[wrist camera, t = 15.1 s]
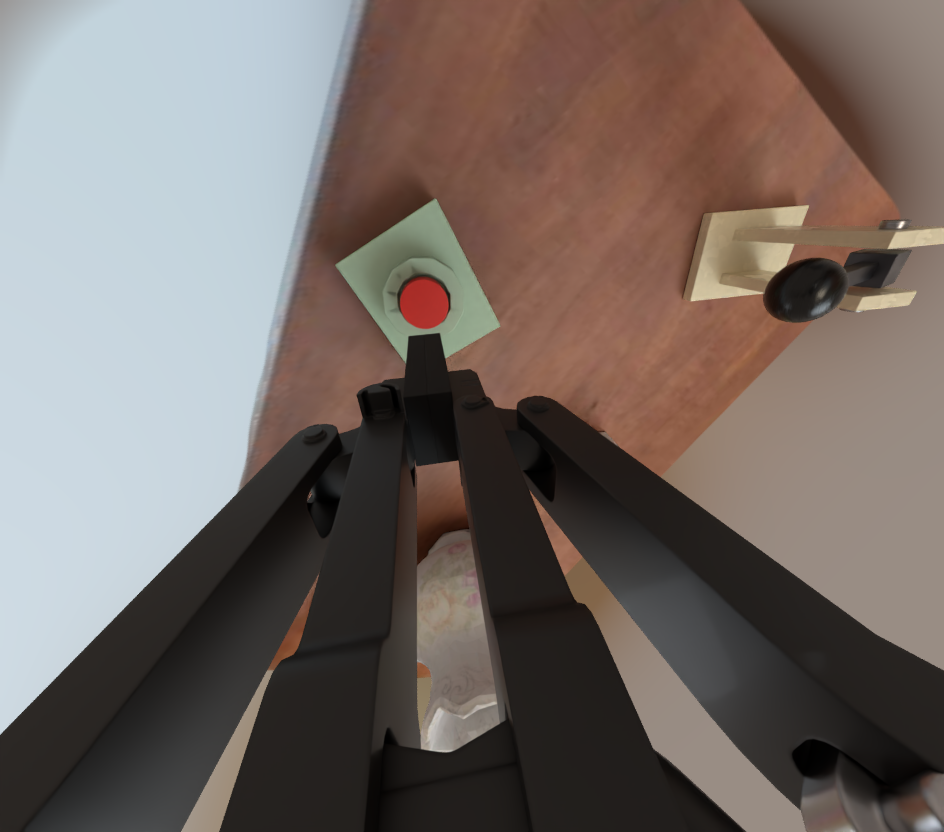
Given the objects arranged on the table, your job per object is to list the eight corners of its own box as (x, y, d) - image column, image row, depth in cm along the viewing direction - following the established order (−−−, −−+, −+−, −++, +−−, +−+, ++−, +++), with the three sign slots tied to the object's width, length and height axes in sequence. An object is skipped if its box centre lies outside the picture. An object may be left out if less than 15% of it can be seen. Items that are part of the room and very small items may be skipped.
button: (391, 292, 28) (390, 296, 27) (431, 267, 28) (432, 269, 26) (417, 332, 30) (417, 337, 29) (455, 309, 30) (457, 313, 28)
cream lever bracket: (682, 299, 36) (810, 336, 24) (703, 213, 32) (870, 207, 20) (766, 290, 37) (929, 322, 25) (797, 205, 33) (1009, 195, 21)
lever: (742, 321, 21) (815, 334, 19) (764, 259, 19) (847, 263, 17) (835, 288, 27) (900, 293, 24) (858, 238, 25) (932, 238, 23)
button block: (339, 262, 30) (329, 267, 26) (434, 199, 28) (436, 196, 25) (415, 368, 36) (414, 383, 32) (496, 320, 34) (504, 331, 31)
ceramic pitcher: (436, 603, 60) (457, 815, 39) (357, 560, 49) (329, 821, 29) (539, 546, 56) (621, 748, 36) (477, 486, 45) (544, 727, 25)
